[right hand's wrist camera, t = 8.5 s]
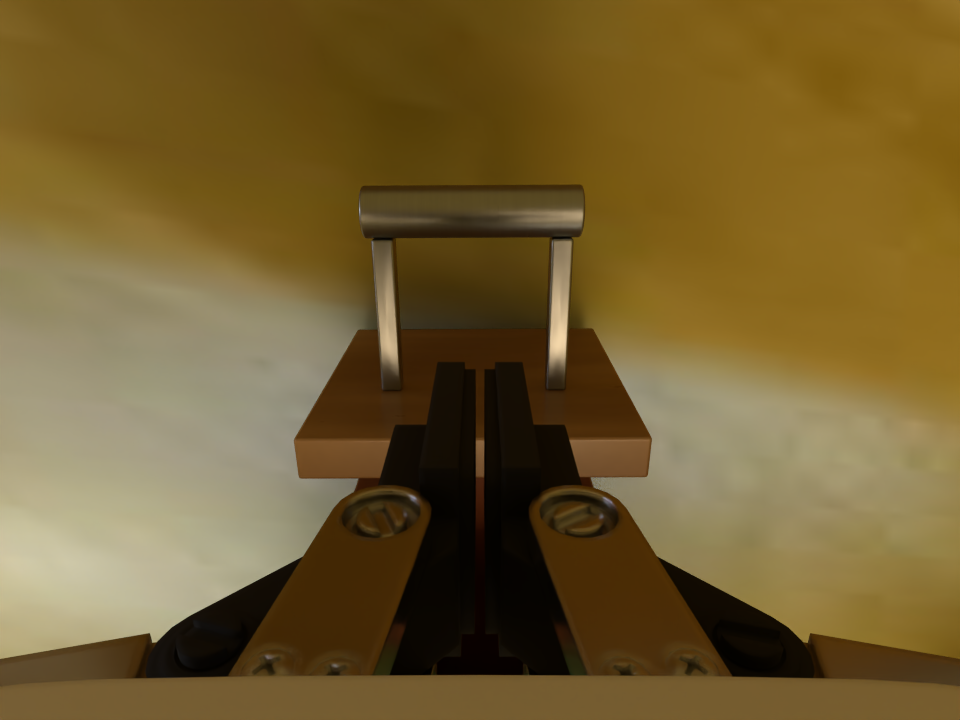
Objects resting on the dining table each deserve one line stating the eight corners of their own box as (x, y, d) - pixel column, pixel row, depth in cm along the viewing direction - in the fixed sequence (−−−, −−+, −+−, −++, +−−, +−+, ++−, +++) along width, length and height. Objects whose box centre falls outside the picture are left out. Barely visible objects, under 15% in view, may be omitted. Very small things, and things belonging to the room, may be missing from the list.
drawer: (344, 170, 21) (260, 200, 13) (603, 168, 21) (679, 198, 13) (386, 679, 30) (352, 885, 22) (570, 679, 30) (603, 885, 22)
